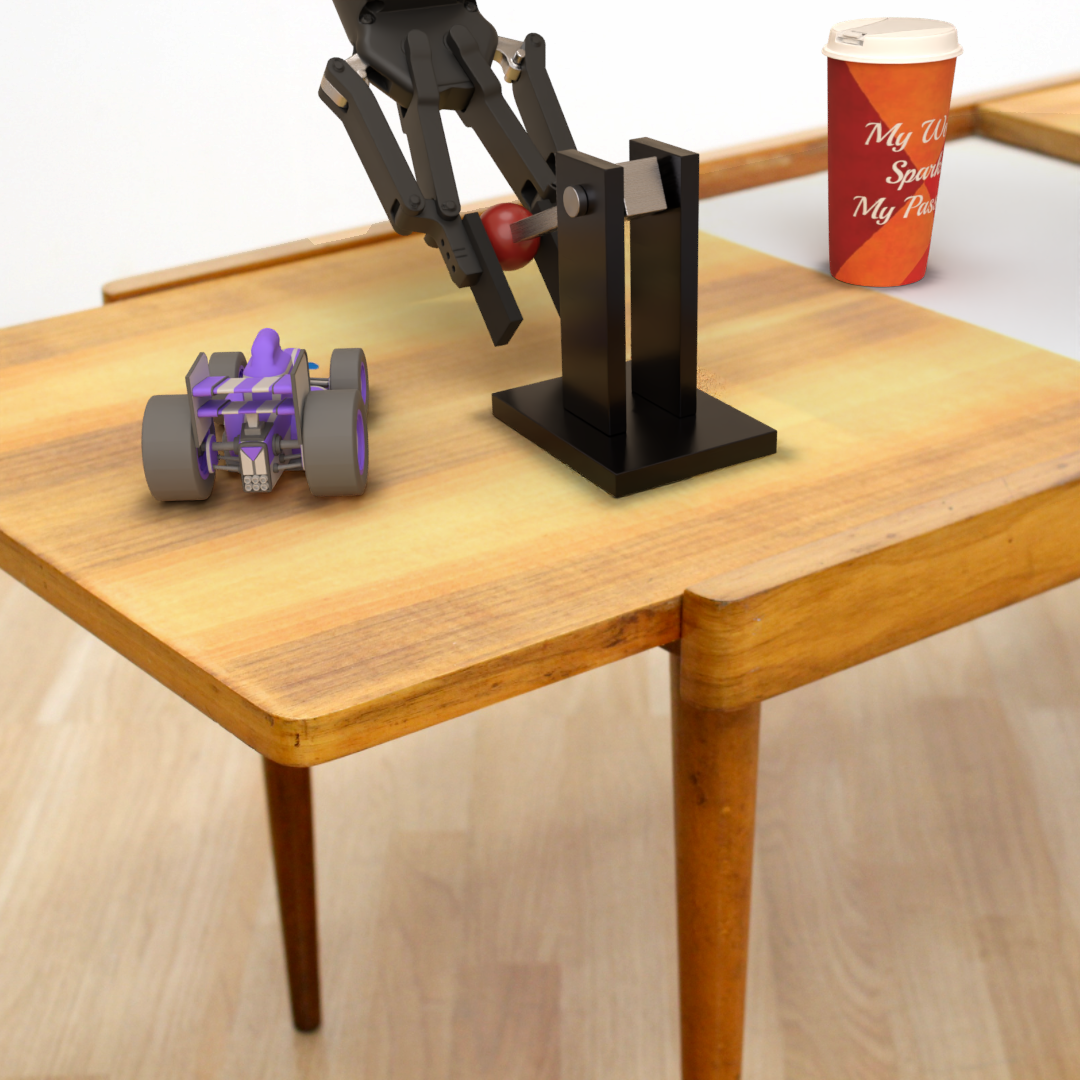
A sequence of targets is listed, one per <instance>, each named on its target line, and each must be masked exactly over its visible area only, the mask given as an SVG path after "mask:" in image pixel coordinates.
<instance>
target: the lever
mask: <svg viewBox="0 0 1080 1080" xmlns="http://www.w3.org/2000/svg"><path fill="white" fill-rule="evenodd" d="M615 164H617V165H619V166H622V167H624V223H625V222H630V221H631V220H636V219H639V218H642V217H645V216H648V215H651V214H654V213H657V212H660V211H663V210H666V209H667V204H666V199H665V194H664V189H663V185H662V180H661V175H660V170H659V165H658V160H657V157H650V158H644V159H638V160H632V161H629V160H627V161H621V162H615ZM479 216H480V218H481V221H482V223H483V225H484V228H485V230H486V232H487V235H488V237H489V240H490V242H491V244H492V247H493V249H494V251H495V254H496V256H497V258H498V261H499V263H500V265H501V268H502V270H503V272H513V271H519V270H520V269H523V268H524V267H526V266H528V265H529V264H530V263H531V262H532V261H533V260H534V257H535V256H536V254H537V252H538V249H539V246H540V241H541V236H543V235H546V234H549V233H551V232H554V231H557V230H558V227H557V206H555V207H553V208H550V209H547V210H545V211H542V212H540V213H537V214H535V215H532V213H531V212H530V211H528V210H527V209H526V208H524V207H523V205H520V204H518V203H514V202H500V203H499V202H498V203H496V204H493V205H491V206H489V207H488V208H486V209H485V210H484V211H483V212H482V213H481V214H480V215H479Z"/></svg>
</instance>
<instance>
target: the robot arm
mask: <svg viewBox="0 0 1080 1080" xmlns="http://www.w3.org/2000/svg"><path fill="white" fill-rule="evenodd" d="M331 1H332V3H333V6H334V8H335V11H336V14H337V15H338V18H339V21H340V23H341V25H342V28H343V30H344V33H345V34H346V37H347V40H348V41H349V43H350V45H351V46H352V54H351V56H349V57H347V58H346V59H343V58H341V57H337V56H334V57H331V58H328V60H327V62H326V66H325V69H324V72H323V74H322V76H321V81H320V84H319V87H318V91H317V96H318V98H319V99H320V101H322V103H323V104H324V105H325V106H326V107H327V108H328V109H329V110H330V111H331V112H332V113H333V114H334V115H335V116H336V117H337V118H338V119H339V121H341V123H342V125H343V127H344V129H345V131H346V133H347V136H348V137H349V140H350V142H351V144H352V145H353V148H354V150H355V152H356V154H357V156H358V158H359V160H360V163H361V164H362V167H363V168H364V171H365V174H366V175H367V177H368V179H369V182H370V184H371V185H372V188H373V190H374V191H375V194H376V196H377V198H378V200H379V202H380V205H381V207H382V209H383V210H384V212H385V215H386V217H387V219H388V221H389V223H390V226H391V227H392V229H393V231H394V232H395V233H396V234H398V235H399V236H403V237H407V236H410V235H412V234H413V233H419V234H425V235H424V237H423V241H424V243H425V244H426V245H427V246H428V247H430V248H432V249H438V250H439V252H440V255H441V257H442V261H443V262H444V265H445V267H446V269H447V272H448V274H449V277H450V279H451V281H452V282H453V284H454V285H455V286H456V287H457V288H458V289H459V290H461V289H465V288H470V291H471V293H472V295H473V299H474V300H475V302H476V305H477V307H478V310H479V313H480V314H481V318H482V319H483V322H484V324H485V326H486V329H487V331H488V334H489V336H490V338H491V341H492V343H493V345H494V347H495V348H497V347H501V346H502V347H503V346H506V345H508V344H509V343H510V341H511V340H512V338H513V336H514V335H515V334H516V332H517V330H518V328H519V327H520V326H521V325H522V322H523V321H524V317H523V315H522V312H521V310H520V307H519V305H518V303H517V301H516V298H515V295H514V293H513V291H512V288H511V286H510V284H509V282H508V279H507V276H506V275H505V271H503V270H502V268H501V265H500V263H499V261H498V258H497V256H496V254H495V251H494V249H493V247H492V244H491V242H490V240H489V237H488V235H487V232H486V230H485V228H484V225H483V223H482V221H481V218H480V216H481V215H480V213H479V212H478V211H474V212H468V213H465V214H464V215H463V217H462V216H461V215H460V214H461V210H462V205H461V200H460V197H459V196H460V195H459V191H458V187H457V183H456V178H455V174H454V170H453V165H452V161H451V157H450V152H449V147H448V142H447V137H446V133H445V129H444V124H443V120H442V116H441V111H443V110H444V111H446V110H447V111H454V112H455V113H456V114H457V117H459V119H460V120H461V122H462V124H463V125H464V126H465V127H466V128H471V129H472V130H473V131H474V133H475V135H476V136H477V137H478V140H479V141H480V143H481V144H482V145H483V147H484V149H485V150H486V151H487V153H488V155H489V156H490V158H491V159H492V161H493V162H494V164H495V166H496V167H497V169H498V170H499V172H500V173H501V174H502V177H503V178H504V179H505V181H506V182H507V184H508V185H509V187H510V189H511V191H512V192H513V193H514V195H515V196H516V198H517V199H518V201H519V203H520V204H521V206H522V207H524V208H526V209H527V210H528V211H530V212H531V213H532V215H535V214H537V213H540V212H542V211H545V210H547V209H550V208H553V207H555V206H557V194H556V161H555V152H558V151H564V150H570V149H574V150H577V151H579V150H578V148H577V144H576V143H575V139H574V138H573V137H574V136H573V135H572V132H571V130H570V127H569V125H568V122H567V119H566V117H565V114H564V112H563V109H562V106H561V104H560V101H559V99H558V96H557V94H556V91H555V88H554V86H553V83H552V81H551V78H550V75H549V73H548V70H547V67H546V65H547V64H546V63H547V62H546V60H547V59H546V56H547V55H546V52H547V51H546V49H547V47H546V46H547V44H546V43H547V42H546V40H545V38H544V37H543V36H542V35H541V34H539V33H537V32H529V33H527V35H525V37H524V40H523V41H522V40H518V39H514V38H509V37H505V36H502V35H501V36H500V35H499V34H498V32H497V29H496V28H495V26H494V24H493V23H491V22H490V21H489V20H487V18H485V17H484V15H483V14H482V13H481V11H480V10H479V6H478V3H477V0H331ZM493 62H496V63H498V64H499V65H500V67H501V69H502V73H503V74H504V76H503V80H504V81H505V82H506V83H507V84H511V90H512V96H513V99H514V102H515V106H516V109H517V110H518V113H519V115H520V118H521V121H522V123H521V121H520V120H519V118H518V117H517V115H516V114H515V112H514V110H513V109H512V108H511V106H510V104H509V103H508V101H507V100H506V98H505V97H504V95H503V86H502V84H501V81H500V79H499V78H498V76H497V75H496V73H495V72H494V70H493V69H492V65H493ZM370 84H371V85H372V86H374V87H375V88H376V89H377V90H379V91H380V92H382V94H384V95H385V96H387V97H388V98H390V99H391V100H393V101H394V102H395V105H396V108H397V109H396V110H397V113H398V118H399V122H400V127H401V132H402V133H403V135H406V139H407V143H408V149H409V155H410V158H411V163H412V168H413V171H414V172H413V171H412V169H411V167H410V166H409V163H408V162H407V161H408V160H407V159H406V157H405V155H404V153H403V151H402V149H401V147H400V145H399V142H398V141H397V139H396V136H395V134H394V133H393V130H392V128H391V126H390V124H389V123H388V120H387V118H386V116H385V114H384V111H383V110H382V108H381V105H380V104H379V102H378V99H377V98H376V96H375V93H374V92H373V90H372V89H371V88H370V86H371V85H370ZM533 260H534V262H535V264H536V266H537V268H538V271H539V273H540V276H541V278H542V281H543V283H544V285H545V287H546V290H547V292H548V294H549V296H550V299H551V301H552V303H553V305H554V308H555V310H556V312H557V315H558V317H559V318H560V292H559V259H558V230H557V231H554V232H551V233H549V234H546V235H543V236H541V241H540V246H539V249H538V252H537V254H536V256H535V257H534V258H533Z"/></svg>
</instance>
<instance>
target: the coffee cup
mask: <svg viewBox="0 0 1080 1080" xmlns="http://www.w3.org/2000/svg"><path fill="white" fill-rule="evenodd" d="M827 39H828V40H827V43H826V44H824V45H823V47H822V48H821V54H822V55H823V56H825V57H826V68H827V69H826V71H827V73H826V74H827V75H826V76H827V77H826V81H827V83H826V85H827V88H826V89H827V90H826V91H827V92H826V93H827V218H828V219H827V220H828V222H827V224H828V228H827V229H828V262H829V271H830V272H829V273H830V275H831V276H832V277H833V278H835V279H836V280H838V281H841V282H844V283H846V284H851V285H855V286H862V287H876V288H885V287H886V288H887V287H889V288H890V287H899V286H906V285H910V284H913V283H916V282H919V281H920V280H922V279H923V278H924V277H925V275H926V272H927V271H926V270H927V266H928V262H929V261H928V260H929V255H930V248H931V243H932V234H933V230H934V229H933V228H934V223H935V222H934V221H935V217H936V208H937V201H938V194H939V186H940V180H941V174H942V166H943V159H944V152H945V146H946V145H945V144H946V138H947V130H948V124H949V117H950V116H949V115H950V111H951V110H950V109H951V103H952V96H953V88H954V81H955V72H956V65H957V59H958V57H960V56H961V55H963V54H964V48H963V46H962V45H961V44H960V43H959V37H958V30H957V28H956V26H955V25H954V24H953V23H951V22H948V21H945V20H939V19H931V18H921V17H901V16H900V17H899V16H897V17H894V16H893V17H892V16H888V17H886V16H885V17H884V16H883V17H866V18H857V19H850V20H849V19H848V20H844V21H840V22H836V23H835V24H833V25H832V26H831V28H830V29H829V34H828V38H827Z"/></svg>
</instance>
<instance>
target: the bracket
mask: <svg viewBox="0 0 1080 1080" xmlns="http://www.w3.org/2000/svg"><path fill="white" fill-rule="evenodd" d="M577 150H578V149H577ZM577 150H574V149H570V150H564V151H558V152H555V161H556V194H557V227H558V259H559V292H560V317H559V320H560V347H561V348H560V353H561V355H560V356H561V376H559V377H554V378H549V379H546V380H542V381H538V382H537V381H536V382H533V383H529V384H525V385H521V386H516V387H512V388H507V389H504V390H500V391H494V392H491V394H490V395H491V410H492V411H491V413H492V415H493V416H494V417H495V418H497V419H498V420H499V421H502V423H504V424H506V425H507V426H509V427H510V428H512V429H513V430H515V431H516V432H518V433H519V434H521V435H522V436H524V437H525V438H527V439H528V440H529V441H531V442H532V443H534V444H535V445H537V446H539V447H540V448H541V449H543V450H544V451H546V452H547V453H548V454H551V456H552V457H555V458H556V459H558V460H560V461H561V462H562V463H564V464H565V465H567V466H568V467H569V468H571V469H573V470H574V471H575V472H577V473H578V474H580V475H582V476H583V477H584V478H586V479H588V480H589V481H590V482H592V483H593V484H595V485H596V486H598V487H599V488H601V489H602V490H604V492H606V493H608V494H610V495H611V496H613V497H614V498H616V499H618V498H622V497H625V496H629V495H632V494H635V493H640V492H643V491H647V490H650V489H653V488H657V487H661V486H664V485H668V484H671V483H675V482H679V481H682V480H685V479H689V478H693V477H697V476H700V475H703V474H708V473H711V472H714V471H718V470H723V469H724V468H728V467H733V466H736V465H739V464H743V463H747V462H750V461H753V460H757V459H761V458H764V457H769V456H772V455H775V454H777V453H778V430H777V429H775V428H773V427H772V426H769V425H768V424H766V423H765V422H762V421H761V420H759V419H756V418H754V417H752V416H751V415H749V414H747V413H746V412H743V411H741V410H739V409H738V408H736V407H735V406H732V405H730V404H728V403H726V402H724V401H722V400H721V399H719V398H716V397H715V396H713V395H711V394H709V393H707V392H705V391H703V390H701V389H700V388H698V325H699V324H698V323H699V322H698V321H699V320H698V319H699V318H698V317H699V316H698V315H699V312H698V311H699V235H700V233H699V230H700V229H699V228H700V223H699V222H700V153H698V152H695V151H692V150H690V149H685V148H683V147H679V146H676V145H674V144H670V143H668V142H664V141H660V140H658V139H654V138H652V137H648V136H642V137H637V138H631V139H628V161H632V160H638V159H644V158H650V157H657V160H658V165H659V170H660V175H661V180H662V185H663V189H664V194H665V199H666V204H667V209H666V210H663V211H660V212H657V213H654V214H651V215H648V216H645V217H642V218H639V219H636V220H631V221H629V270H630V271H629V276H630V277H629V279H630V283H629V284H630V285H629V286H630V288H629V289H630V291H629V294H630V359H629V360H627V342H626V337H627V336H626V335H627V333H626V327H627V326H626V257H625V256H626V253H625V252H626V251H625V250H626V249H625V248H626V247H625V245H626V244H625V243H626V240H625V237H626V236H625V222H624V167H622V166H619V165H617V164H616V163H614V162H611V161H608V160H605V159H602V158H600V157H597V156H594V155H591V154H589V153H585V152H582V151H580V150H578V151H577Z"/></svg>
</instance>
